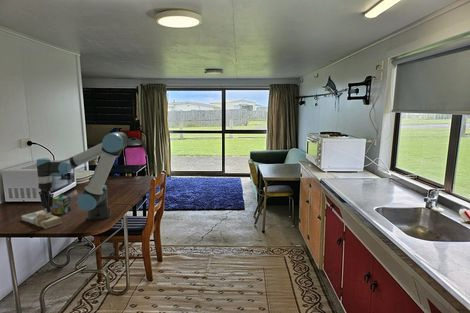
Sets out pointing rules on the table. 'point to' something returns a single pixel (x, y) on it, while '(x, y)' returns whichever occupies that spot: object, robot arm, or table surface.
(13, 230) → the table surface
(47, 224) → the birch board
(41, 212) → the off-white block
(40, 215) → the salmon tan block
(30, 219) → the tray
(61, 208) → the chalk box
